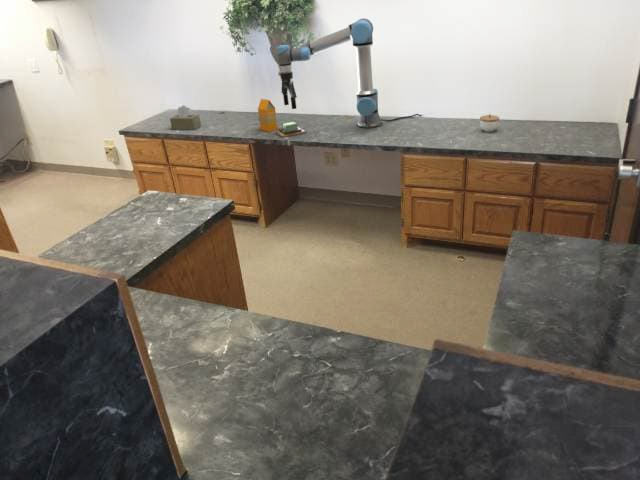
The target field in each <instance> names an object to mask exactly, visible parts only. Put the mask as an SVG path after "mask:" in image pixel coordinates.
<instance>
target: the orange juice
mask: <svg viewBox="0 0 640 480" xmlns="http://www.w3.org/2000/svg"><path fill="white" fill-rule="evenodd" d="M257 111H258V121H259V126H260V127H259V128H260V131H263V132H268V133H270V132H273V131H277V130H278V122H277V113H276V107H275V106H274V104H273V103H272V102H271V100H270V99H264V98H261V99H260V101H259V104H258V107H257Z"/></svg>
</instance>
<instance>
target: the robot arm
mask: <svg viewBox="0 0 640 480" xmlns="http://www.w3.org/2000/svg"><path fill="white" fill-rule="evenodd" d="M373 32H374V25H373V23H372V22H371V21H370V20H369V19H368V18H359V19H357V20H356V21H355V22H353V23H351V24H348V26H347V27H345V28H343V29H340V30H338V31H337V30H336V31H335V32H332V33H329V34H327V35H325V36H322V37H319V38H317V39H315V40H312V41H309V42H307V43H302V44H301V45H300V46H299V47H292V48H291V47H290V45H289V44H282V45H278V46H277V48H276V50H277V51H276V52H277V58H278V66H279V67H278V69H279V72H280V73H279V74H280V75H279V76H280V79H281V94H282V96H283V105H284V106H289V105H290V103H291V109H292V110H296V109H297V101H296V98H298V96H297V92H296V88H295V86H294V81H292V79H293V78H294V76H293V75H294V74H293V66H292V63H293V62H306V61H310V59H311V56H313V55H315V54H319V53H321V52H323V51H326V50H329V49H331V48H335V47H337V46H340V45H343V44H345V43H348V42H350V41H352V47H353V48H354V49H355V55H356V56H355V57H356V70H357V86H358V91H357V92H356V106H355V107H356V110H357V112H358V114H359V116H358V120H357V126H358V127H359V128H363V129H372V128H377V127H380V126H381V125H382V122H393V121H396V120H401V119H406V118H407V119H408V118H413V117H416V116H419V117H422V114H420V113H415V114H412V115H407V116H400V117H396V118H393V119H381V116H380V114H379V98H378V97H379V92H378V89H377V88H374V85H373V68H372V67H373V66H372V53H371V47H372V46H373V44H374V39H373ZM288 94H289V95H290V102H289V95H288ZM419 114H420V115H419Z"/></svg>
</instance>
